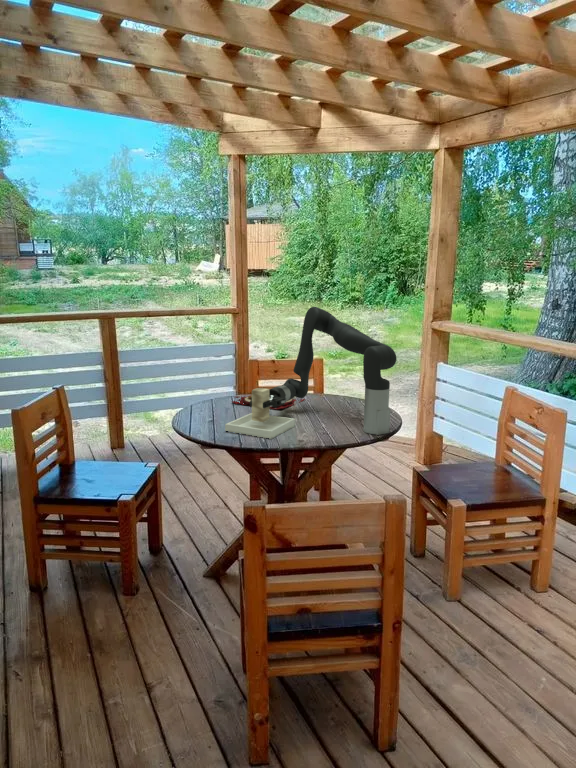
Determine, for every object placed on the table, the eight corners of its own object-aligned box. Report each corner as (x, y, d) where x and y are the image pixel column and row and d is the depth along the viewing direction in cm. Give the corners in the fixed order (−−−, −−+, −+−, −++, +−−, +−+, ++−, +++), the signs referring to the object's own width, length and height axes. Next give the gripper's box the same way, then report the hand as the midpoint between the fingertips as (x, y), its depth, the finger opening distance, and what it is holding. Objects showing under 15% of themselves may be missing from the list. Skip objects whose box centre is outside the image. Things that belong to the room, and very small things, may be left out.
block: (269, 419, 215) (269, 389, 213) (263, 422, 211) (263, 391, 209) (258, 417, 218) (258, 387, 215) (251, 420, 213) (251, 390, 211)
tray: (295, 426, 219) (295, 418, 218) (271, 439, 202) (271, 431, 201) (252, 419, 228) (251, 412, 227) (225, 431, 211) (225, 424, 210)
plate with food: (281, 412, 243) (281, 405, 242) (231, 404, 255) (231, 396, 254) (305, 402, 265) (305, 395, 264) (258, 395, 276) (258, 388, 276)
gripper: (262, 384, 228) (241, 393, 213) (293, 388, 221) (273, 397, 207) (262, 402, 229) (241, 411, 215) (293, 406, 223) (273, 416, 208)
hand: (257, 404), depth 211 cm, fingers closed on block, 5 cm apart
